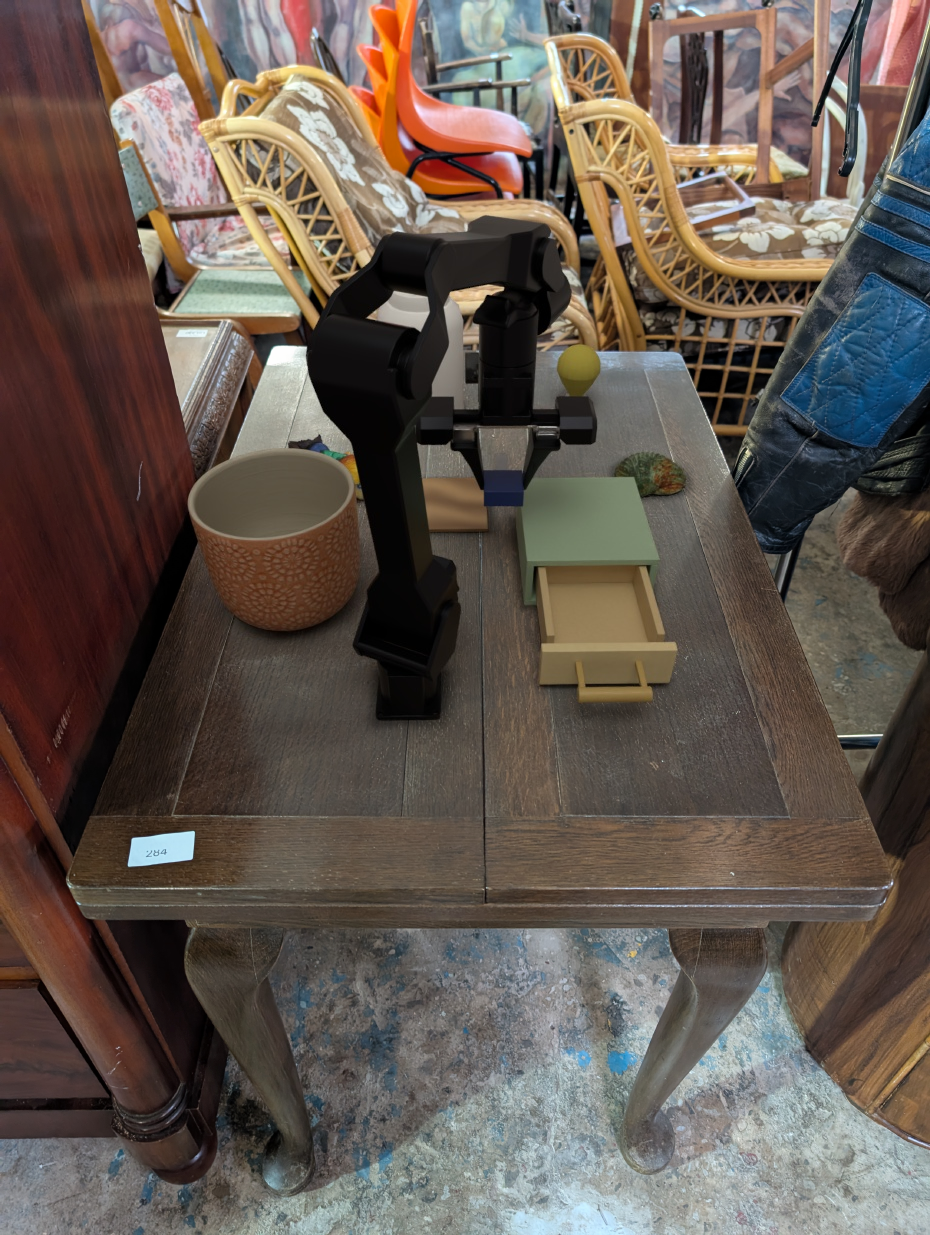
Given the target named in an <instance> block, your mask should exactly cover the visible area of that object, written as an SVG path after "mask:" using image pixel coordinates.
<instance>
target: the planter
mask: <svg viewBox="0 0 930 1235" xmlns="http://www.w3.org/2000/svg"><path fill="white" fill-rule="evenodd" d="M187 511H188V512H189V517H190V521H191V524H192V527H193V531H194V533H195V537H196V539H197V542H198V545H199V549H200V551H201V554H202V558H203V560H204V564H205V567H206V569H207V572H208V575H209V577H210V580H211V582H212V585H213V587H214V589H215V591H216V593H217V595H218V597H219V599H220V600H221V602H222V603H223V605H224V606H225V607H226V608H227V610H228V611H229V612H230V613H231V614H232V615H233V616H235V617H236V618H238V619H239V620H241V621H242V622H244V623H245V624H248V625H251V626H253V627H256V628H258V629H262V630H267V631H273V632H292V631H300V630H304V629H308V628H312V627H313V626H317V625H319V624H321V623H323V622H325V621H327V620H328V619H330V618H331V617H333V616H334V615H336V614H337V613H338V612H339V611H341V609H343V608H344V607H345V606H346V604H347V603H348V602H349V600H350V599H351V598H352V596H353V594H354V592H355V591H356V588H357V585H358V582H359V577H360V571H361V569H360V568H361V541H360V540H361V538H360V527H359V516H358V502H357V497H356V491H355V484H354V479H353V477H352V475H351V473H350V471H349V470H348V469H347V468H346V467H345V466H344V465H343V464H342V463H340V462H339V461H337V460H336V459H334V458H332V457H330V456H328V455H325V454H322V453H319V452H315V451H310V450H304V449H294V448H288V447H287V448H286V447H284V448H283V447H282V448H267V449H261V450H255V451H251V452H247V453H244V454H240V455H238V456H235V457H232V458H229V459H227V460H225V461H223V462H221V463H219V464H217V465H215V466H213V467H212V468H211V469H209V470H207V471H206V472H205V473H204V474H203V475H202V476H200V477H199V478H198V480H197V481H196V482H195V483H194V484H193V486H192V488H191V489H190V492H189V493H188V498H187Z"/></svg>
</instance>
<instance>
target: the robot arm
mask: <svg viewBox="0 0 930 1235" xmlns="http://www.w3.org/2000/svg"><path fill="white" fill-rule="evenodd" d="M551 234H552V229H551V228H550V226H549V224H548V223H545V222H539V221H530V220H524V219H516V218H509V217H503V216H497V215H496V216H494V215H488V214H484V215H482V216H480V217H478V218H475V219H473V220H471V221H470V222H468V224H467V231H453V232H432V233H430V232H429V233H410V232H405V231H398V230H397V231H394V232H392V233H387V234H385V235H383V236H382V238H381V239H380V240H379V241H378V244H377V245H376V247H375V250H374V252H373V254H372V255H371V258H370V260H369V261H368V262H367V263H366V264H364V266H362V267H361V268H360V269H359V270H357V271H356V272H355V273H354V274H352V275H351V276H350V277H349V278H347V279H346V280H345V281H344V282H342V283H341V284H340V285H339V286H337V288H335V289H334V290H333V291H332V293H331V294H330V295H329V298H328V299H327V301H326V303H325V305H324V308H323V309H322V311H321V314H320V316H319V318H318V320H317V322H316V323H315V326H314V327H313V330H312V332H311V334H310V337H309V338H308V341H307V343H306V344H307V345H306V351H305V362H306V367H307V374H308V378H309V380H310V384H311V385H312V388H313V390H314V393H315V395H316V397H317V401H318V403H319V405H320V408H321V410H322V412H323V414H324V415H325V416H326V417H327V418H328V419H329V420H330V421H331V422H332V423H333V425H334V426H335V427H336V428H337V429H338V430H339V431H340V432H341V433H342V435H344V437H346V438H347V440H348V441H349V442H350V445H351V449H352V454H354V458H355V463H356V467H357V472H358V477H359V481H360V486H361V490H362V495H363V499H362V500H363V503H364V508H365V513H366V517H367V521H368V527H369V531H370V535H371V540H372V546H373V549H374V554H375V559H376V562H377V566H378V568H377V570H378V572H377V574H376V575H375V577H374V578H373V580H372V581H371V582H370V584H369V586H367V588H366V601H365V604H364V607H363V610H362V613H361V616H360V619H359V622H358V625H357V629H356V633H355V635H354V638H353V641H352V648H353V650H354V652H355V654H356V655H357V656H359V657H360V656H361V657H366V658H368V659H371V660H374V661H377V669H378V680H377V681H378V682H377V694H376V703H375V718H376V719H377V720H438V719H440V718H441V716H442V671H443V669H444V668H445V666H446V665H447V663H448V662H449V661H450V659H451V657H452V656H453V655H454V653H455V651H456V646H457V640H458V634H459V627H460V621H461V614H462V606H461V603H460V602H459V595H458V594H459V592H460V589H461V588H460V586H459V583H458V574H457V573H458V568H457V566H456V564H455V562H454V560H453V559H451V558H447V557H443V556H441V555H438V554H437V555H436V554H433V547H432V546H433V545H432V540H431V539H432V538H431V532H429V525H428V518H427V511H426V503H425V496H424V489H423V482H422V478H423V476H422V475H423V474H422V470H421V461H420V454H419V447H418V444H419V445H420V446H447V445H448V444H449V449H450V451H452V452H459V453H460V454H461V456H462V458H463V459H464V460H465V463H467V465H468V466H469V469H470V470H471V472H472V474H473V478H475V479H476V481H477V483H478V486H479V488H480V490H484V470H485V469H484V462H483V456H482V449H481V442H480V441H481V440H480V430H481V429H485V430H486V429H489V430H490V429H491V430H493V429H495V430H496V429H498V430H499V429H502V430H503V429H528V439H527V444H526V445H527V446H526V450H525V456H524V463H523V468H522V480H523V486H524V490H526V489H527V487H528V485H529V484H530V482H531V480H532V478H535V477H534V476H535V475H536V473H537V471H538V470H539V468H540V467H541V465H542V464H543V463H544V462H545V461H546V459H547V458H548V456H550V454H551V453H552V452H559V451H560V450H561V449H562V448H561V447H562V444H561V442H563V444H565V445H566V446H591V445H593V444H595V443H596V442H597V435H598V434H597V433H598V418H597V414H596V413H597V412H596V408H595V405H594V404H595V403H594V401H593V400H592V399H591V398H590V396H588V395H586V396H566V395H563V396H562V395H560V396H559V395H556V396H555V401H554V405H538V406H536V407H534V403H535V400H534V399H535V386H536V384H535V383H536V367H537V353H538V352H537V351H538V350H537V349H538V337H539V336H541V335H543V334H544V333H546V331H547V330H548V329H549V328H550V327H551V326H552V325H553V324H554V323H555V322H556V321H557V320H558V319H559V318H560V317H561V315H562V314H563V313H564V312H565V311H566V310H567V309H568V307H569V306H570V304H571V300H572V296H573V290H572V287H571V283H570V281H569V279H568V277H567V275H566V274H565V272H564V271H563V267H562V263H561V257H560V254H559V250H558V245H557V242H556V240H555V238H552V237H550V236H551ZM483 286H484V287H485V286H493V287H494V286H495V287H500V288H503V290H499V291H496V292H494V293H492V294H486V295H485V296H484V299H483V301H482V302H481V303H480V305H479V306H478V307H477V308H476V309H475V310H474V313H473V315H472V321H471V322H472V323H473V324H474V325H478V352H477V351H469V352H468V351H466V352H465V351H464V383H465V384H466V385H477V403H478V407H477V408H464V409H454V397H432V383H433V381H434V378H435V376H436V374H437V372H438V369H439V367H440V365H441V363H442V361H443V358H444V356H445V354H446V352H447V349H448V347H449V337H448V331H447V325H446V318H445V312H444V305H445V303H446V300H447V298H448V296H449V294H451V293H453V292H457V291H463V290H467V289H473V288H479V287H483ZM394 291H397V292H403V293H408V294H414V295H419V296H425V297H428V303H429V309H430V312H429V315H428V317H427V319H426V321H425V323H424V326H423V328H422V330H421V332H420V331H419V330H417V329H416V328H414V327H409V326H404V325H399V324H393V323H388V322H383V321H378V320H377V319H373V318H369V316H371V315H372V314H373V313H375V312H376V311H377V310H379V308H380V307H381V306H382V305H383V304H384V303H386V302H387V301H388V300H389V299H390V297H391V296H392V294H393V292H394ZM415 425H416V431H415ZM479 429H480V430H479Z"/></svg>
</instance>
